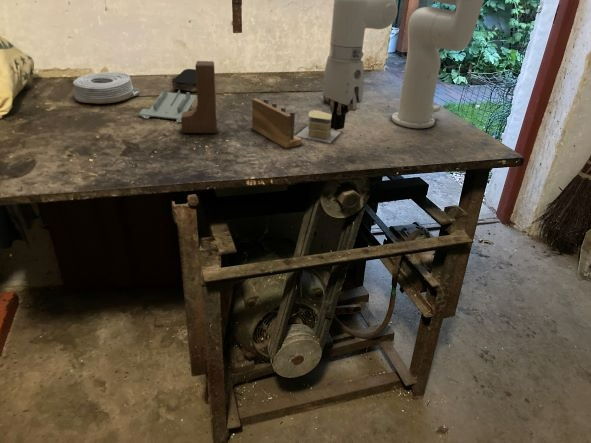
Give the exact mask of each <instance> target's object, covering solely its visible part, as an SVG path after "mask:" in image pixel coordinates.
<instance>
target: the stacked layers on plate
mask: <svg viewBox="0 0 591 443" xmlns="http://www.w3.org/2000/svg"><path fill="white" fill-rule="evenodd" d="M331 118H332V113H328V112H324V111H321V110H316V109H315V110H310V111H309V112H308V118H307V122H308V123H307V124H308V125H307V126H306V127H305V128H303V129H302V130H301V131H299V132H298V133H297V134H296V135H295V136H297V137H298V138H302V139H309V140H314V141H319V142H323V143H329V144H331V143H332V142H333V141H334V140H335V139H336V138H337V137H338V136H339V135H340V134H341V131H338V130H333V129H332V128H331Z"/></svg>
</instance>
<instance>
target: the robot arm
mask: <svg viewBox="0 0 591 443" xmlns="http://www.w3.org/2000/svg"><path fill="white" fill-rule="evenodd" d="M430 1H431V2H435V3H439V4H445V5H446V4H447V5H452V6H456V9H455V10H452V9H451V10H450V9H446V8H439V7H434V6H423V7H419V8H417V9H416V10H414V11H413V13H412V14H411V15H410V17H409V21H408V24H407V52H406V53H407V54H406V60H405V67H404V73H403V79H402V85H401V91H400V96H399V103H398V111H396V112H394V113H393V114H392V116H391V120H392V122H393V123H395V124H396V125H399V126H402V127H405V128H411V129H428V128H431V127H433V126H434V125H435V122H436V121H435V120H436V119H435V118H434V116H433V114H435V113H438V112H440V111H441V106H440V105H439V104H438V105H437V104H436V105H434V100H435V99H434V98H435V95H436V94H435V93H436V89H437V84H438V79H439V76H440V75H439V74H440V69H441V65H442V64H441V55H440V51H439V49H442V50H447V51H452V52H462V51H463V50H465V49H466V48H468V46H469V44H470V42H471V41H472V38H473V36H474V32H475V31H476V27H477V23H478V20H479V17H480V13H481V10H482V7H483V4H484V1H485V0H430ZM332 9H333V10H332V20H331V29H330V30H331V31H330V32H331V33H330V40H329V41H330V42H329V50H328V52H329V54H328V56H327V58H326V63H325V68H324V72H323V78H322V79H323V80H322V95H324V98H323V100H324V99H325V100H326V101H327V102H328V103H329V104H328V105H329V107H330V108H329V111H330V112H331V115H332V118H330V119H331V128H332V129H331V130H333V131H338V130H343V129H345V123H346V115H347V114H348V113H349V112H354V111H357V109H358V108H357V107H358V104H360V103H362V101H363V96H364V86H365V84H364V82H365V80H364V79H365V67H364V61H363V60H362V58H364V52H363V48H364V47H363V46H364V40H365V34H366V29H372V30H385V29H386V28H388V27H390V26H391V25H393V23H394V22H395V20H396V19H397V16H398V10H399V9H398V4H397V2H396V0H333V8H332Z"/></svg>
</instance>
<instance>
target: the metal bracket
mask: <svg viewBox="0 0 591 443" xmlns="http://www.w3.org/2000/svg"><path fill="white" fill-rule="evenodd" d="M196 99H197V94H191V91H186V93H181V90H179V89H178V91H177V92H168V90H167V89H163V91H161V93H160V94H159V96H157V98H156V99H155V101H154V102H153V104H152V105H151V107H150V108H142V109H141V111H140V112H139V114H138V116H139V117H141V118H143V119H145V120H147V119H149V118H150V117H151V118H159V119H168V120H176V123H181V117H182V113H183V112H186V111H190V108H191V106H192V105H193V103H194V102H195V100H196Z"/></svg>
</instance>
